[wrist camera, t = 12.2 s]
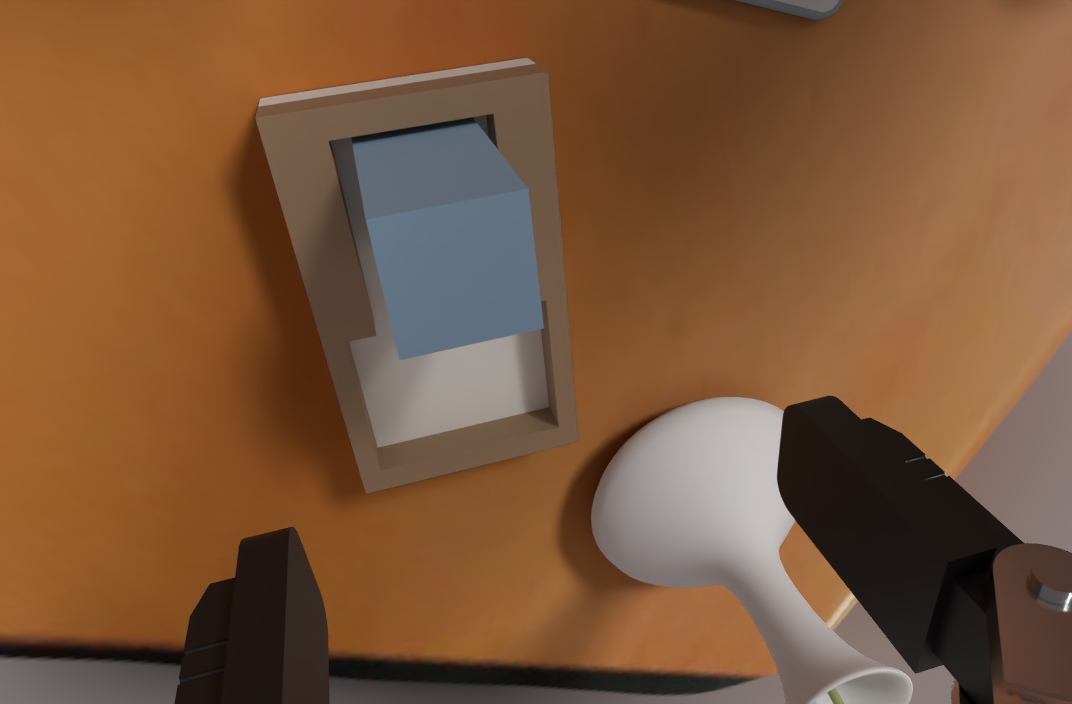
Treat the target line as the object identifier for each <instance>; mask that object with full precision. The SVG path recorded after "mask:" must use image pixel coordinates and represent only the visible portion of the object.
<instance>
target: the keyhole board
mask: <svg viewBox="0 0 1072 704" xmlns="http://www.w3.org/2000/svg"><path fill="white" fill-rule="evenodd" d="M470 117H473V118H474V120H475V121H476V122H477V123H478V125H479V126H480V127H481V129H482V130H483V131H484V132H485V134H486V135H487V136H488V138H489V139H490V140H491V141H492V143H493V144H494V145H495V147H496V148H497V149H498V150H499V152H500V153H501V154H502V156H503V157H504V158H505V159H506V161H507V162H508V163H509V165H510V166H511V167H512V168H513V170H514V171H515V172H516V174H517V175H518V176H519V177H520V179H521V180H522V181H523V182H524V184H525V185H526V186H527V188H528V190H529V199H530V208H531V217H532V226H533V235H534V244H535V253H536V262H537V271H538V280H539V289H540V298H541V307H542V316H543V325H544V328H543V329H538V330H534V331H529V332H525V333H520V334H516V335H511V336H507V337H502V338H498V339H493V340H489V341H484V342H480V343H475V344H471V345H466V346H462V347H457V348H453V349H448V350H444V351H439V352H435V353H430V354H426V355H421V356H417V357H412V358H408V359H403V360H399V357H398V353H397V348H396V344H395V340H394V336H393V332H392V328H391V323H390V319H389V315H388V311H387V307H386V303H385V298H384V294H383V290H382V286H381V282H380V277H379V273H378V269H377V265H376V261H375V257H374V252H373V248H372V244H371V240H370V236H369V232H368V227H367V223H366V219H365V213H364V208H363V202H362V196H361V191H360V185H359V179H358V174H357V168H356V163H355V157H354V151H353V146H352V140H351V137H355V136H361V135H367V134H373V133H380V132H386V131H392V130H398V129H404V128H410V127H416V126H422V125H428V124H434V123H440V122H446V121H452V120H458V119H464V118H470ZM255 119H256V123H257V126H258V129H259V133H260V136H261V140H262V143H263V146H264V150H265V153H266V157H267V160H268V163H269V167H270V170H271V174H272V177H273V180H274V184H275V187H276V190H277V194H278V197H279V201H280V204H281V207H282V211H283V214H284V218H285V221H286V224H287V228H288V231H289V235H290V238H291V241H292V245H293V248H294V252H295V255H296V258H297V262H298V265H299V269H300V272H301V275H302V279H303V282H304V286H305V289H306V292H307V296H308V299H309V303H310V306H311V309H312V313H313V316H314V320H315V323H316V326H317V330H318V333H319V337H320V340H321V343H322V347H323V350H324V354H325V357H326V360H327V364H328V367H329V371H330V374H331V377H332V381H333V384H334V388H335V391H336V394H337V398H338V401H339V405H340V408H341V411H342V415H343V418H344V422H345V425H346V428H347V432H348V435H349V439H350V442H351V445H352V449H353V452H354V456H355V459H356V462H357V466H358V469H359V473H360V476H361V479H362V483H363V486H364V490H365V493H366V494H368V493H372V492H376V491H380V490H384V489H388V488H392V487H396V486H401V485H405V484H409V483H413V482H417V481H421V480H425V479H429V478H433V477H437V476H441V475H445V474H449V473H454V472H458V471H462V470H466V469H470V468H474V467H478V466H482V465H486V464H490V463H494V462H498V461H502V460H507V459H511V458H515V457H519V456H523V455H527V454H531V453H535V452H539V451H543V450H547V449H551V448H555V447H560V446H564V445H568V444H572V443H576V442H579V437H578V425H577V413H576V401H575V389H574V377H573V365H572V353H571V341H570V329H569V317H568V304H567V292H566V280H565V268H564V256H563V244H562V232H561V220H560V208H559V196H558V184H557V172H556V160H555V147H554V135H553V123H552V111H551V99H550V87H549V75H548V71H546V70H545V69H543V68H542V67H540V66H539V65H537V64H536V63H535V62H533V61H532V60H530V59H529V58H521V59H515V60H508V61H502V62H495V63H489V64H482V65H476V66H469V67H463V68H456V69H450V70H443V71H437V72H430V73H423V74H417V75H410V76H404V77H397V78H391V79H384V80H378V81H371V82H365V83H358V84H352V85H345V86H339V87H332V88H326V89H319V90H313V91H306V92H299V93H293V94H286V95H280V96H273V97H267V98H260V102H259V105H258V109H257V113H256V117H255Z"/></svg>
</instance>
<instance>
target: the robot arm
mask: <svg viewBox="0 0 1072 704" xmlns="http://www.w3.org/2000/svg"><path fill="white" fill-rule="evenodd" d="M777 483H778V488H779V492H780V495H781V498H782V500H783V502H784V505H785V506H786V508H787V510H788V511H789V513H790V514H791V515H792V516H793V518H794V519H795V520H796V522H797V523H798V524H799V525H800V527H801V528H802V529H803V531H804V532H805V533H806V534H807V536H808V537H809V538H810V539H811V541H812V542H813V543H814V545H815V546H816V547H817V548H818V550H819V551H820V552H821V554H822V555H823V556H824V557H825V559H826V560H827V561H828V562H829V564H830V565H831V566H832V568H833V569H834V570H835V571H836V573H837V574H838V575H839V577H840V578H841V579H842V580H843V582H844V583H845V584H846V586H847V587H848V588H849V589H850V591H851V592H852V593H853V594H854V596H855V597H856V598H857V600H858V601H859V602H860V603H861V605H862V606H863V607H864V609H865V610H866V611H867V612H868V614H869V615H870V616H871V617H872V619H873V620H874V621H875V623H876V624H877V625H878V626H879V628H880V629H881V630H882V632H883V633H884V634H885V635H886V636H887V638H888V639H889V641H890V642H891V643H892V644H893V646H894V647H895V648H896V649H897V651H898V652H899V653H900V654H901V656H902V657H903V658H904V660H905V661H906V662H907V664H908V665H909V666H910V667H911V669H912V670H913V671H914V672H915V673H919V672H922V671H925V670H928V669H931V668H935V667H938V666H941V665H944V666H945V667H946V668H947V669H948V670H949V672H950V673H951V674H952V676H953V677H954V681H953V684H952V689H951V701H952V704H1072V553H1070V552H1068V551H1065V550H1062V549H1059V548H1056V547H1052V546H1048V545H1042V544H1028V543H1026V544H1025V543H1023V542H1022V541H1021V540H1020V539H1019V538H1018V537H1016V536H1015V535H1014V534H1013V533H1012V532H1011V531H1010V530H1009V529H1008V528H1006V527H1005V526H1004V525H1003V524H1002V523H1001V522H1000V521H998V520H997V519H996V518H995V517H994V516H993V515H992V514H991V513H990V512H989V511H988V510H986V509H985V508H984V507H983V506H982V505H981V504H980V503H979V502H977V501H976V500H975V499H974V498H973V497H972V496H971V495H970V494H969V493H967V492H966V491H965V490H964V489H963V488H962V487H961V486H960V485H959V484H957V483H956V482H955V481H954V480H953V479H952V478H951V477H950V476H948V477H946V476H945V474H944V471H943V470H942V469H941V468H940V467H939V466H938V465H936V464H935V463H934V462H933V461H932V460H931V459H926V457H925V454H924V453H923V452H922V451H921V450H920V449H919V448H918V447H916V446H915V445H914V444H913V443H912V442H911V441H910V440H909V439H907V438H906V437H905V436H904V435H903V434H902V433H900V432H898V431H896V430H894V429H892V428H890V427H888V426H886V425H884V424H882V423H880V422H878V421H876V420H874V419H872V418H866V419H862V420H861V419H860V418H859V417H858V416H857V415H856V414H854V413H853V412H852V411H851V410H850V409H849V408H848V407H847V406H846V405H845V404H844V403H843V402H842V401H841V400H839V399H838V398H836V397H834V396H826V397H822V398H818V399H814V400H809V401H805V402H801V403H797V404H793V405H790V406H788V407H786V409H785V410H784V413H783V418H782V428H781V438H780V448H779V458H778V467H777ZM184 651H185V656H184V657H183V659H182V664H181V670H180V675H179V679H180V685H178V687H177V693H176V699H175V704H329V657H328V627H327V619H326V613H325V608H324V603H323V599H322V596H321V593H320V590H319V587H318V585H317V582H316V579H315V577H314V574H313V572H312V569H311V566H310V564H309V561H308V558H307V556H306V553H305V551H304V548H303V545H302V543H301V540H300V537H299V535H298V533H297V531H296V529H295V528H294V527H289V528H285V529H281V530H277V531H273V532H269V533H265V534H261V535H257V536H252V537H248V538H244V539H242V540H241V542H240V545H239V551H238V560H237V568H236V576H235V578H231V579H227V580H224V581H220V582H216V583H212V584H210V585H209V586H208V588H207V590H206V591H205V593H204V595H203V596H202V598H201V599H200V601H199V603H198V604H197V606H196V608H195V609H194V611H193V612H192V614H191V616H190V619H189V625H188V630H187V636H186V642H185V647H184Z"/></svg>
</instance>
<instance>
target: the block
mask: <svg viewBox="0 0 1072 704" xmlns="http://www.w3.org/2000/svg"><path fill="white" fill-rule="evenodd" d="M351 140H352V146H353V151H354V157H355V163H356V168H357V174H358V179H359V185H360V191H361V196H362V202H363V208H364V213H365V219H366V223H367V227H368V232H369V236H370V240H371V244H372V248H373V252H374V257H375V261H376V265H377V269H378V273H379V277H380V282H381V286H382V290H383V294H384V298H385V303H386V307H387V311H388V315H389V319H390V323H391V328H392V332H393V336H394V340H395V344H396V348H397V353H398V357H399V360H403V359H408V358H412V357H417V356H421V355H426V354H430V353H435V352H439V351H444V350H448V349H453V348H457V347H462V346H466V345H471V344H475V343H480V342H484V341H489V340H493V339H498V338H502V337H507V336H511V335H516V334H520V333H525V332H529V331H534V330H538V329H543V328H544V325H543V316H542V307H541V298H540V289H539V280H538V271H537V262H536V253H535V244H534V235H533V226H532V217H531V208H530V199H529V190H528V188H527V186H526V185H525V184H524V182H523V181H522V180H521V179H520V177H519V176H518V175H517V174H516V172H515V171H514V170H513V168H512V167H511V166H510V165H509V163H508V162H507V161H506V159H505V158H504V157H503V156H502V154H501V153H500V152H499V150H498V149H497V148H496V147H495V145H494V144H493V143H492V141H491V140H490V139H489V138H488V136H487V135H486V134H485V132H484V131H483V130H482V129H481V127H480V126H479V125H478V123H477V122H476V121H475V120H474V118H473V117H470V118H464V119H458V120H452V121H446V122H440V123H434V124H428V125H422V126H416V127H410V128H404V129H398V130H392V131H386V132H380V133H373V134H367V135H361V136H355V137H351Z"/></svg>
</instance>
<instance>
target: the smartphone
mask: <svg viewBox="0 0 1072 704" xmlns="http://www.w3.org/2000/svg"><path fill="white" fill-rule="evenodd" d="M735 1H739V2H743V3H747V4H751V5H755V6H759V7H763V8H768V9H772V10H776V11H780V12H784V13H788V14H792V15H796V16H800V17H804V18H808V19H813V20H822V19H826V18H828V17H830V16H831V15H833V14H834V13H835V12H836V11H837V10H838V9H839V7H840V6H841V4H842V2H843V1H844V0H735Z"/></svg>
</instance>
